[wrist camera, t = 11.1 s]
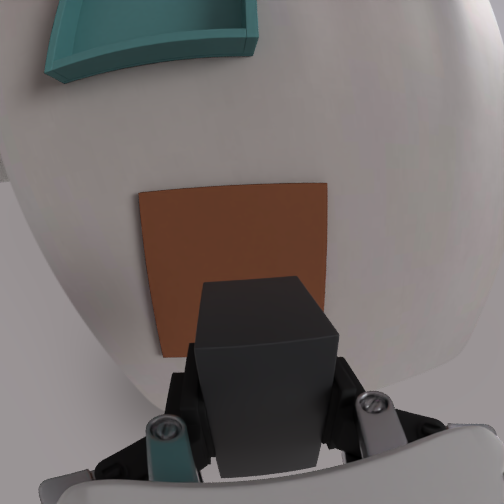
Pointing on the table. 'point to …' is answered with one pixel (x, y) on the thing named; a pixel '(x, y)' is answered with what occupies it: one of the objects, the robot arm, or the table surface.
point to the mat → (228, 246)
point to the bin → (146, 33)
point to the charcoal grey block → (264, 373)
